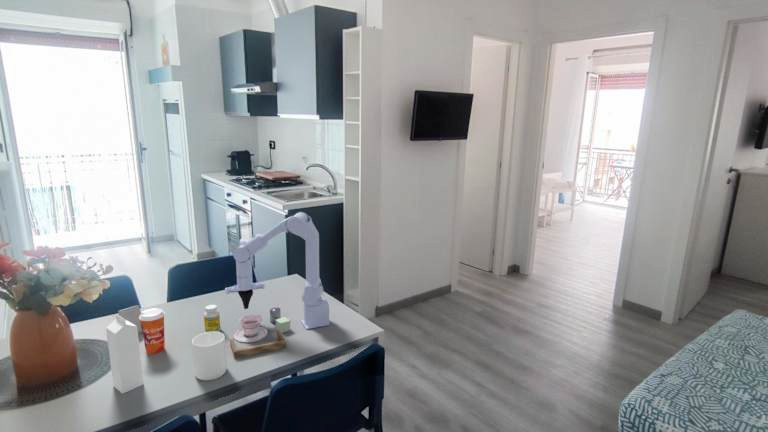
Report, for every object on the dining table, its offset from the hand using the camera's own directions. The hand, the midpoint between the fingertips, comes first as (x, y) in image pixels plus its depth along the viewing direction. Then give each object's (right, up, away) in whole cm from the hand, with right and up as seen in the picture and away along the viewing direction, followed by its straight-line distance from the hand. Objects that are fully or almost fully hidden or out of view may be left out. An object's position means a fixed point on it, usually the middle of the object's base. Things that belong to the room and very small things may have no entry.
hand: (246, 307), depth 171 cm
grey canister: (+12, -5, 0) cm, 13 cm away
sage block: (+16, -7, -6) cm, 19 cm away
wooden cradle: (+10, -10, -19) cm, 24 cm away
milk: (-21, -14, -42) cm, 49 cm away
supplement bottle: (-10, -7, -8) cm, 15 cm away
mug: (-1, -13, -34) cm, 37 cm away
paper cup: (-24, -10, -23) cm, 34 cm away
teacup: (+5, -8, -11) cm, 14 cm away
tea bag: (-38, -7, -11) cm, 41 cm away
